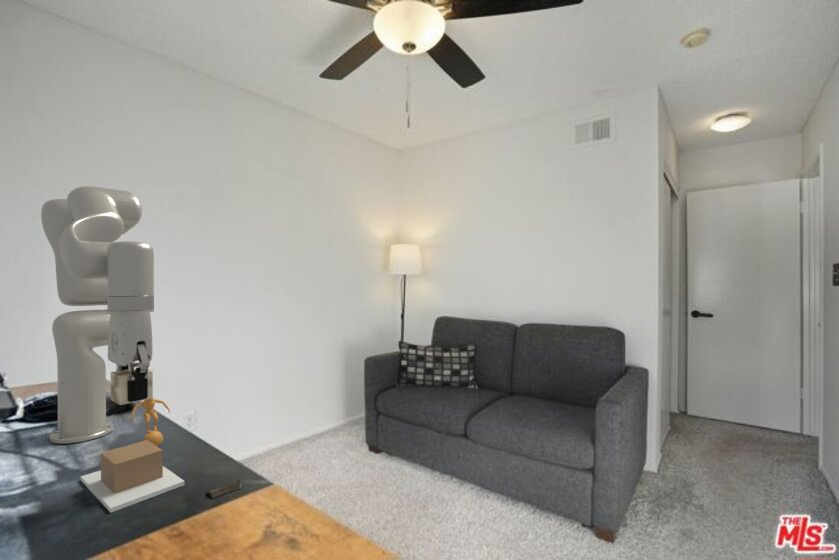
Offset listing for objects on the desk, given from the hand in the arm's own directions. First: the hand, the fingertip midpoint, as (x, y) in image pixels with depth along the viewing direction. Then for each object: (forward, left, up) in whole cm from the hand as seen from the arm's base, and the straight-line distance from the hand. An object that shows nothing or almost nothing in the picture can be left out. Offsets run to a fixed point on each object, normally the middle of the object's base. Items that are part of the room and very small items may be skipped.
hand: (131, 396), depth 81 cm
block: (+17, +10, -18) cm, 27 cm away
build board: (0, 0, -17) cm, 17 cm away
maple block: (0, 0, -1) cm, 1 cm away
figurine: (-16, +9, -17) cm, 25 cm away
